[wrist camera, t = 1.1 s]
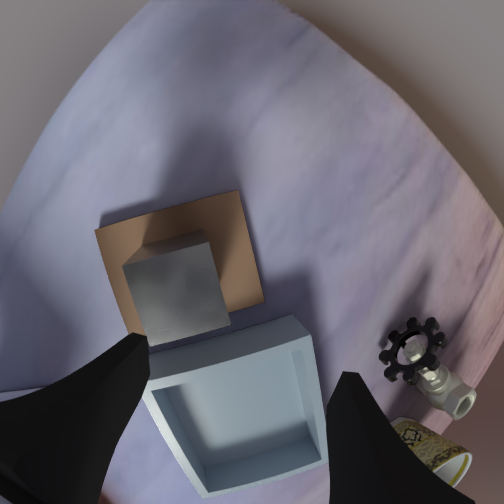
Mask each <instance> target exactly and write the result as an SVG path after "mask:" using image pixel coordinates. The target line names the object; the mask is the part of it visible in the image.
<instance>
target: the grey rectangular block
mask: <svg viewBox="0 0 504 504" xmlns="http://www.w3.org/2000/svg"><path fill="white" fill-rule="evenodd" d="M122 268H123V272H124V275H125V278H126V281H127V284H128V287H129V290H130V293H131V296H132V299H133V302H134V305H135V308H136V310H137V313H138V316H139V319H140V321H141V324H142V327H143V329H144V332H145V335H146V336H147V340H148V342H149V345H150V346H154V345H158V344H163V343H166V342H170V341H174V340H178V339H182V338H186V337H190V336H193V335H197V334H201V333H205V332H208V331H212V330H215V329H219V328H223V327H226V326H230V325H231V321H230V318H229V314H228V311H227V307H226V304H225V300H224V297H223V293H222V290H221V286H220V282H219V279H218V275H217V271H216V268H215V264H214V260H213V256H212V253H211V249H210V245H209V241H208V239H207V237H206V235H205V233H204V231H203V229H200V230H196V231H193V232H189V233H185V234H182V235H178V236H174V237H171V238H167V239H164V240H160V241H156V242H153V243H149V244H146V245H142V246H141V247H140V248H139V249H138V250H137V251H136V252H135V253H134V254H133V255H132V256H131V257H130V258H129V259H128V260H127V261H126V262H125V263H124V264H123V265H122Z"/></svg>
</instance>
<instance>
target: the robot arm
mask: <svg viewBox="0 0 504 504" xmlns="http://www.w3.org/2000/svg"><path fill="white" fill-rule="evenodd" d="M149 377H150V364H149V353H148V341H147V336H145V335H141V334H137V333H134V332H132V333H130V334H129V335H127V336H126V337H125V338H123V339H122V340H121V341H119V342H118V343H116V344H115V345H114V346H112V347H111V348H110V349H108V350H107V351H105V352H104V353H103V354H101V355H100V356H98V357H97V358H95V359H94V360H92V361H91V362H90V363H88V364H86V365H85V366H83V367H82V368H80V369H78V370H77V371H75V372H73V373H72V374H70V375H68V376H67V377H65V378H63V379H61V380H59V381H57V382H55V383H53V384H51V385H49V386H47V387H43V388H35V389H28V390H20V391H11V392H2V393H0V504H98V500H99V496H100V493H101V489H102V485H103V482H104V479H105V476H106V473H107V470H108V467H109V464H110V461H111V458H112V456H113V453H114V450H115V448H116V445H117V443H118V441H119V439H120V437H121V435H122V433H123V431H124V429H125V428H126V426H127V424H128V422H129V420H130V418H131V416H132V414H133V413H134V411H135V409H136V407H137V405H138V403H139V401H140V399H141V397H142V395H143V393H144V390H145V388H146V385H147V382H148V379H149ZM326 436H327V448H328V459H329V471H330V500H329V504H475V501H474V500H472V499H470V498H468V497H467V496H465V495H463V494H462V493H461V492H459V491H457V490H456V489H454V488H453V487H452V486H450V485H449V484H448V483H446V482H445V481H444V480H442V479H441V478H440V477H439V476H437V475H436V474H435V473H434V472H433V471H432V470H431V469H430V468H428V467H427V466H426V465H425V464H424V463H423V462H422V461H421V460H420V459H419V458H418V457H417V456H416V455H415V454H414V452H413V451H412V450H411V449H410V448H409V447H408V446H407V445H406V443H405V442H404V441H403V440H402V438H401V437H400V436H399V435H398V433H397V432H396V431H395V429H394V428H393V426H392V425H391V424H390V422H389V421H388V419H387V418H386V416H385V415H384V413H383V412H382V410H381V409H380V407H379V405H378V404H377V402H376V401H375V399H374V397H373V396H372V394H371V393H370V391H369V389H368V388H367V386H366V384H365V383H364V381H363V379H362V378H361V376H360V374H359V373H356V372H345V371H343V372H342V375H341V377H340V379H339V381H338V383H337V386H336V388H335V390H334V392H333V394H332V396H331V398H330V401H329V403H328V405H327V414H326Z"/></svg>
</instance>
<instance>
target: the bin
mask: <svg viewBox="0 0 504 504" xmlns="http://www.w3.org/2000/svg"><path fill="white" fill-rule="evenodd" d="M149 364H150V377H149V379H148V382H147V385H146V388H145V390H144V393H143V395H142V398H143V400H144V402H145V404H146V406H147V408H148V410H149V412H150V414H151V415H152V417H153V419H154V421H155V423H156V425H157V426H158V428H159V430H160V432H161V434H162V435H163V437H164V439H165V441H166V442H167V444H168V446H169V448H170V449H171V451H172V453H173V454H174V456H175V457H176V459H177V461H178V462H179V464H180V466H181V467H182V469H183V470H184V472H185V473H186V475H187V476H188V478H189V480H190V481H191V483H192V484H193V486H194V487H195V489H196V490H197V491H198V493H199V494H200V496H201V497H202V499H204V498H209V497H215V496H219V495H224V494H229V493H233V492H237V491H241V490H245V489H249V488H253V487H256V486H260V485H264V484H267V483H270V482H274V481H277V480H280V479H283V478H286V477H289V476H292V475H295V474H298V473H301V472H304V471H307V470H309V469H312V468H315V467H317V466H320V465H323V464H325V463H328V462H329V459H328V448H327V436H326V423H325V416H324V409H323V403H322V396H321V390H320V384H319V378H318V372H317V366H316V360H315V354H314V348H313V343H312V337H311V334H310V333H309V332H308V331H307V330H306V329H305V327H304V326H303V325H302V324H301V323H300V322H299V321H298V320H297V319H296V318H295V317H294V316H293V314H291V315H288V316H284V317H281V318H278V319H275V320H272V321H269V322H265V323H262V324H259V325H255V326H252V327H249V328H245V329H242V330H239V331H235V332H232V333H228V334H225V335H221V336H218V337H214V338H210V339H207V340H203V341H199V342H196V343H192V344H188V345H184V346H180V347H176V348H172V349H168V350H164V351H160V352H156V353H152V354H149Z"/></svg>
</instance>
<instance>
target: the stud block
mask: <svg viewBox="0 0 504 504" xmlns="http://www.w3.org/2000/svg"><path fill="white" fill-rule="evenodd" d="M200 229H203V231H204V233H205V235H206V237H207V239H208V241H209V245H210V249H211V253H212V256H213V260H214V264H215V268H216V271H217V275H218V279H219V282H220V286H221V290H222V293H223V297H224V300H225V304H226V307H227V311H228V313H230V312H233V311H237V310H240V309H244V308H247V307H250V306H254V305H257V304H261V303H264V302H265V300H264V296H263V292H262V288H261V284H260V280H259V275H258V271H257V267H256V263H255V259H254V254H253V250H252V246H251V242H250V238H249V233H248V229H247V225H246V221H245V217H244V213H243V208H242V204H241V200H240V196H239V192H238V190H235V191H231V192H227V193H223V194H219V195H215V196H211V197H207V198H203V199H200V200H196V201H192V202H188V203H184V204H181V205H177V206H173V207H170V208H166V209H163V210H159V211H155V212H152V213H148V214H145V215H142V216H138V217H135V218H131V219H128V220H125V221H121V222H118V223H115V224H112V225H108V226H105V227H102V228H99V229H96V230H95V234H96V238H97V241H98V245H99V248H100V252H101V255H102V258H103V262H104V265H105V268H106V271H107V274H108V278H109V281H110V284H111V287H112V290H113V292H114V295H115V298H116V301H117V304H118V307H119V309H120V312H121V315H122V318H123V320H124V323H125V325H126V328H127V331H128V333H129V334H130V333H132V332H134V333H137V334H141V335H145V332H144V329H143V327H142V324H141V321H140V319H139V316H138V313H137V310H136V308H135V305H134V302H133V299H132V296H131V293H130V290H129V287H128V284H127V281H126V278H125V275H124V272H123V268H122V265H123V264H124V263H125V262H126V261H127V260H128V259H129V258H130V257H131V256H132V255H133V254H134V253H135V252H136V251H137V250H138V249H139V248H140V247H141V246H142V245H146V244H149V243H153V242H156V241H160V240H164V239H167V238H171V237H174V236H178V235H182V234H185V233H189V232H193V231H196V230H200Z"/></svg>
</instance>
